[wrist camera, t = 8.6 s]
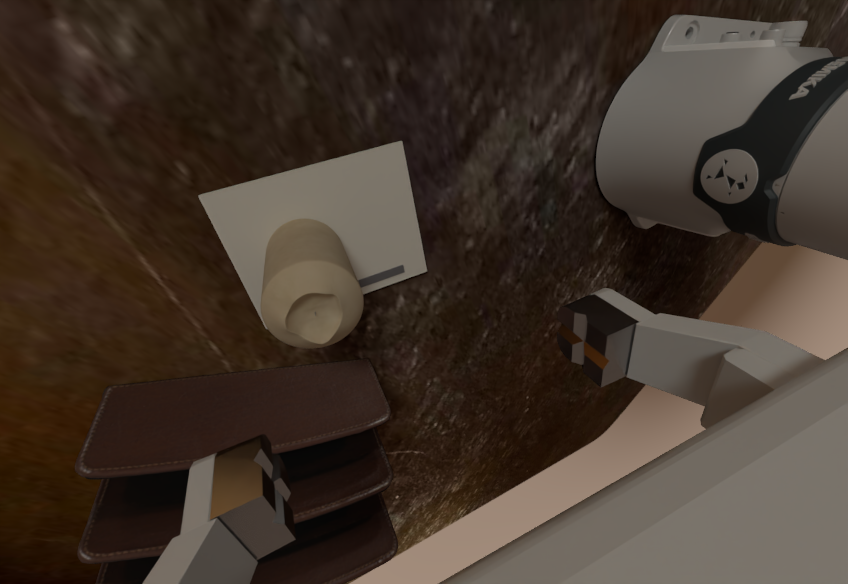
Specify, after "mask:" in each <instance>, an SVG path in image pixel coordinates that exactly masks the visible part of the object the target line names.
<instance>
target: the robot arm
mask: <svg viewBox="0 0 848 584" xmlns="http://www.w3.org/2000/svg"><path fill="white" fill-rule="evenodd" d="M807 22H808V21H791V22H779V23H766V22H755V21H745V20H734V19H724V18H713V17H703V16H693V15H674V16H671V17H670V18H669V19H668V20H667V21H666V22H665V24H664V25H663V27H662V28H661V30H660V32H659V34H658V36H657V38H656V39H655V41H654V43H653V45H652V47H651V49H650V52H649V53H648V55H647V56H646V58H645V59H644V60H643V61H642V62H641V64H640V65H639V66H638V67H637V68H636V69H635V70H634V71H633V72H632V74H631V75H630V76H629V77H628V78H627V80H626V81H625V82H624V84H623V85H622V87H621V88H620V90H619V91H618V93H617V94H616V96H615V98H614V100H613V102H612V103H611V105H610V108H609V110H608V112H607V114H606V117H605V119H604V122H603V125H602V128H601V132H600V135H599V140H598V145H597V152H596V173H597V179H598V183H599V187H600V189H601V191H602V193H603V195H604V197H605V198H606V199H607V200H608V201H609V202H610V203H611V204H612V205H613V206H615V207H617V208H619V209H621V210H624V211H625V212H626V213H628V215H629V217H630V219H631V221H632V223H633V224H634V225H635V226H636V227H639V228H643V229H648V228H650V227H652V226H654V225H655V224H657V223H660V224H664V225H668V226H671V227H675V228H679V229H683V230H687V231H690V232H694V233H698V234H702V235H706V236H712V237H715V236H719V235H720V234H723V233H726V232H728V231H730V230H731V231H733V232H736V233H739V234H743V235H746V236H749V238H751V239H754V240H757V241H761V242H764V243H765V242H767V243H769V242H770V243H773V244H777V245H781V246H793V245H796V244H798V245H801V246H804V247H807V248H811V249H814V250H817V251H821V252H824V253H827V254H830V255H833V256H836V257H840V258H843V259H846V260H848V57H833V56H832V54H831V52H830V51H829V50H828V49H826V48H813V47H799V45H800V43H799V41H801V40H802V37H803V35H804V33H805V30H806V27H807V25H808V24H807ZM557 320H559V321H560V322H561V323H562V324H561V326H560V328H559V329H558V331H557V342H558V344H559V347H560V349H561V351H562V352H563V354H564V355H565V356H566V357H567V358H568V359H569V360H570V361H571V362H574V363H578V364H581V365H582V368H583V372H584V373H585V374H586V375H587V376H588V377H590V378H591V379H592V380H593V381H594V382H595V383H597V384H598V385H599V386H600V387H603V386H605V385H607V384H610V383H612V382H614V381H616V380H618V379H620V378H623V377H625V376H627V377H628V378H630V379H633V380H636V381H638V382H641V383H644V384H646V385H649V386H652V387H655V388H657V389H660V390H662V391H665V392H668V393H671V394H673V395H676V396H679V397H681V398H684V399H687V400H689V401H692V402H695V403H698V404H700V405H703V406H705V409H704V411H703V414H702V417H701V425H702V426H703V427H704V428H706V430H704V431H703V432H701V433H699V434H697V435H696V436H694V437H692V438H690V439H688V440H687V441H685V442H683V443H682V444H680V445H678V446H676V447H675V448H673V449H671V450H669V451H668V452H666V453H664V454H662V455H661V456H659V457H657V458H656V459H654V460H652V461H651V462H649V463H647V464H645V465H643V466H642V467H640V468H638V469H637V470H635V471H633V472H631V473H629V474H628V475H626V476H624V477H623V478H621V479H619V480H617V481H616V482H614V483H612V484H610V485H609V486H607V487H605V488H603V489H602V490H600V491H598V492H597V493H595V494H593V495H591V496H590V497H588V498H586V499H584V500H583V501H581V502H579V503H578V504H576V505H574V506H572V507H570V508H569V509H567V510H565V511H564V512H562V513H560V514H558V515H557V516H555V517H553V518H551V519H550V520H548V521H546V522H545V523H543V524H541V525H539V526H537V527H536V528H534V529H532V530H531V531H529V532H527V533H525V534H524V535H522V536H520V537H519V538H517V539H515V540H513V541H512V542H510V543H508V544H506V545H505V546H503V547H501V548H499V549H498V550H496V551H494V552H492V553H491V554H489V555H487V556H486V557H484V558H482V559H480V560H478V561H477V562H475V563H473V564H472V565H470V566H468V567H466V568H465V569H463V570H461V571H460V572H458V573H456V574H454V575H453V576H451V577H449V578H447V579H446V580H444V581H442V582H440V583H439V584H848V348H846V349H844V350H843V351H841V352H839V353H838V354H836V355H834V356H832V357H831V358H829V359H827V360H823V359H821V358H819V357H817V356H815V355H813V354H811V353H809V352H807V351H805V350H803V349H801V348H799V347H797V346H795V345H793V344H791V343H788V342H787V341H785V340H783V339H780V338H779V337H777V336H774V335H772V334H770V333H768V332H766V331H761V330H756V329H749V328H744V327H738V326H732V325H727V324H721V323H715V322H709V321H703V320H698V319H692V318H686V317H680V316H674V315H669V314H663V313H659V314H657V315H655V314H653V313H652V312H650V311H648V310H646V309H645V308H643V307H641V306H639V305H638V304H636V303H634V302H632V301H631V300H629V299H627V298H626V297H624V296H622V295H620V294H619V293H617V292H615V291H613V290H612V289H608V288H604V289H601V290H599V291H597V292H594V293H592V294H590V295H588V296H585V297H583V298H581V299H579V300H576V301H574V302H572V303H569V304H567V305H565V306H562V307H560V309H559V311H558V318H557ZM290 494H291V490H290V482H289V478H288V474H287V471H286V468H285V466H284V463H283V461H282V459H281V458H280V456H279V455H278V454H275V453H272V447H271V442H270V441H269V439H268V438H267V436H266V435H265V434H261V435H259V436H256V437H254V438H251V439H249V440H246V441H244V442H241V443H239V444H236V445H234V446H231V447H229V448H226V449H224V450H221V451H219V452H217V453H215V454H212V455H210V456H207V457H205V458H202V459H200V460H197V461H195V462H193V464H192V466H191V468H190V470H189V477H188V484H187V491H186V498H185V505H184V512H183V519H182V526H181V533H180V535H179V536H177V537H174V538H172V540H171V541H170V543H169V544H168V546H167V547H166V549H165V550H164V552H163V553H162V555H161V556H160V558H159V559H158V561H157V562H156V564H155V565H154V567H153V568H152V570H151V571H150V573H149V574H148V576H147V577H146V579H145V580H144V582H143V583H142V584H250V581H251V579H252V576H253V574H254V571H255V569H256V566H257V563H258V562H257V561H256V560H258V559H260V558H262V557H264V556H266V555H267V554H269V553H271V552H273V551H275V550H277V549H279V548H281V547H283V546H284V545H286V544H288V543H290V542H292V541H294V540H296V535H295V526H294V516H293V510H292V509H291V507H290V506H289V504H288V503H287V500H288V498H289V496H290Z"/></svg>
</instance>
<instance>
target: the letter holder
mask: <svg viewBox="0 0 848 584" xmlns="http://www.w3.org/2000/svg"><path fill="white" fill-rule="evenodd" d="M390 414H391V410H390V407H389V404H388V402H387V400H386V397H385V395H384V393H383V390H382V388H381V386H380V383H379V381H378V378H377V375H376V373H375V371H374V368H373V366H372V364H371V362H370V360H369V359H367V358H366V359H359V360H358V359H357V360H350V361H340V362H337V361H336V362H329V363H321V364H310V365H300V366H292V367H281V368H272V369H261V370H253V371H244V372H232V373H226V374H216V375H207V376H205V375H202V376H196V377H186V378H178V379H168V380H160V381H151V382H142V383H132V384H123V385H115V386H108V387H107V388H106V389H105V390H104V393H103V395H102V400H101V402H100V405H99V407H98V410H97V412H96V415H95V417H94V420H93V422H92V424H91V427H90V430H89V432H88V434H87V437H86V439H85V441H84V444H83V446H82V448H81V451H80V453H79V455H78V458H77V461H76V464H75V471H76V472H77V473H78V474H79V475H81V476H82V477H85V478H87V479H102V481H101V484H100V487H99V490H98V493H97V496H96V499H95V502H94V505H93V507H92V510H91V513H90V516H89V519H88V522H87V525H86V528H85V530H84V533H83V536H82V539H81V541H80V544H79V548H78V558H79V559H80V561H81V562H82V563H90V564H97V563H102V565H101V568H100V571H99V575H98V578H97V581H96V584H142V583H143V582H144V580H145V579H146V577H147V576H148V574H149V573H150V571H151V570H152V568H153V567H154V565H155V564H156V562H157V561H158V559H159V558H160V556H161V555H162V553H163V552H164V550H165V549H166V547H167V546H168V544H169V543H170V541H171V540H172V538H174V537H177V536H179V535H180V533H181V526H182V519H183V512H184V505H185V498H186V491H187V484H188V477H189V470H190V468H191V466H192V464H193V462H195V461H197V460H200V459H202V458H205V457H207V456H210V455H212V454H215V453H217V452H219V451H221V450H224V449H226V448H229V447H231V446H234V445H236V444H239V443H241V442H244V441H246V440H249V439H251V438H254V437H256V436H259V435H261V434H265V435H266V436H267V438H268V439H269V441H270V442H271V447H272V453H275V454H278V455H279V456H280V458H281V459H282V461H283V463H284V466H285V468H286V471H287V474H288V478H289V482H290V490H291V494H290V496H289V498H288V500H287V503H288V504H289V506H290V507H291V509H292V510H293V516H294V526H295V535H296V540H294V541H292V542H290V543H288V544H286V545H284V546H283V547H281V548H279V549H277V550H275V551H273V552H271V553H269V554H267V555H266V556H264V557H262V558H260V559H258V560H256V561H257V562H258V563H257V566H256V569H255V571H254V574H253V576H252V579H251V581H250V584H344V583H347V582H349V581H351V580H353V579H355V578H357V577H359V576H361V575H363V574H365V573H367V572H369V571H371V570H373V569H375V568H377V567H379V566H381V565H383V564H384V563H386V562H387V561H389V560H391V559H392V558H393V557H394V555H395V554H396V552H397V548H398V541H397V537H396V534H395V531H394V528H393V525H392V523H391V520H390V517H389V514H388V511H387V508H386V505H385V503H384V500H383V497H382V494H381V492H383V491H384V490H386V489H387V488H388V487H389V485H390V484H391V482H392V480H393V471H392V468H391V465H390V463H389V460H388V458H387V455H386V452H385V450H384V447H383V445H382V442H381V440H380V437H379V434H378V431H377V429H376V426H380V425H382V424H384V423H385V422H386V421H388V420H389V418H390Z"/></svg>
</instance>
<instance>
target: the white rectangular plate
mask: <svg viewBox="0 0 848 584" xmlns="http://www.w3.org/2000/svg"><path fill="white" fill-rule="evenodd" d="M198 197H199V199H200V201H201V203H202V205H203V206H204V208H205V210H206V212H207V214H208V216H209V218H210V220H211V222H212V224H213V226H214V228H215V230H216V232H217V234H218V236H219V238H220V240H221V242H222V244H223V246H224V248H225V249H226V251H227V253H228V255H229V257H230V259H231V261H232V263H233V265H234V267H235V269H236V271H237V273H238V275H239V277H240V279H241V281H242V283H243V285H244V287H245V289H246V291H247V293H248V294H249V296H250V298H251V300H252V302H253V304H254V306H255V308H256V310H257V312H258V314H259V316H260V318H261V320H262V322H263V324H264V326H265V328H266V329H268V328H267V327H266V325H265V323H264V321H263V318H262V314H261V295H262V285H263V275H264V265H265V255H266V248H267V244H268V242H269V239H270V238H271V236H272V234H273V233H274V232H275V231H276V230H277V229H278V228H279V227H280V226H282V225H283V224H285V223H287V222H289V221H292V220H296V219H313V220H317V221H320V222H322V223H324V224H326V225H327V226H329V227H330V228H331V229H332V230H333V231H334V232H335V233H336V234H337V235H338V237H339V238H340V240H341V242H342V244H343V246H344V249H345V251H346V254H347V256H348V258H349V261H350V263H351V266H352V268H353V270H354V273H355V275H356V277H357V280H358V282H359V285H360V287H361V290H362V293H363V294H366V293H369V292H371V291H374V290H377V289H380V288H383V287H385V286H388V285H391V284H394V283H396V282H399V281H402V280H405V279H407V278H410V277H413V276H416V275H419V274H421V273H424V272H427V268H426V263H425V258H424V252H423V247H422V242H421V237H420V232H419V226H418V221H417V216H416V211H415V205H414V200H413V195H412V190H411V185H410V179H409V174H408V169H407V164H406V158H405V153H404V148H403V143H402V141H398V142H395V143H391V144H387V145H384V146H380V147H376V148H372V149H369V150H365V151H361V152H357V153H354V154H350V155H346V156H343V157H339V158H335V159H331V160H328V161H324V162H320V163H316V164H313V165H309V166H305V167H302V168H298V169H294V170H290V171H287V172H283V173H279V174H275V175H272V176H268V177H264V178H261V179H257V180H253V181H249V182H246V183H242V184H238V185H235V186H231V187H227V188H223V189H220V190H216V191H212V192H208V193H205V194H201V195H199V196H198Z"/></svg>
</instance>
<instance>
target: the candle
mask: <svg viewBox="0 0 848 584" xmlns="http://www.w3.org/2000/svg"><path fill="white" fill-rule="evenodd" d="M363 306H364V299H363V293H362V290H361V287H360V285H359V282H358V280H357V277H356V275H355V273H354V270H353V268H352V266H351V263H350V261H349V258H348V256H347V254H346V251H345V249H344V246H343V244H342V242H341V240H340V238H339V237H338V235H337V234H336V233H335V232H334V231H333V230H332V229H331V228H330V227H329V226H327V225H326V224H324V223H322V222H320V221H317V220H313V219H296V220H292V221H289V222H287V223H285V224H283V225H282V226H280V227H279V228H278V229H277V230H276V231H275V232H274V233H273V234H272V236H271V238H270V239H269V242H268V244H267V248H266V255H265V265H264V275H263V285H262V295H261V314H262V318H263V321H264V323H265V325H266V327H267V328H268V330H269V331H270V332H271V333H272V334H273V335H274V336H275V337H276V338H278V339H279V340H281V341H282V342H284V343H286V344H289V345H291V346H295V347H299V348H309V349H311V348H321V347H325V346H329V345H331V344H334V343H336V342H338V341H340V340H341V339H343V338H344V337H346V336H347V335H348V334H349V333H350V332H351V331H352V330H353V329H354V328H355V326H356V325H357V324H358V322H359V320H360V318H361V315H362V312H363Z"/></svg>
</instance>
